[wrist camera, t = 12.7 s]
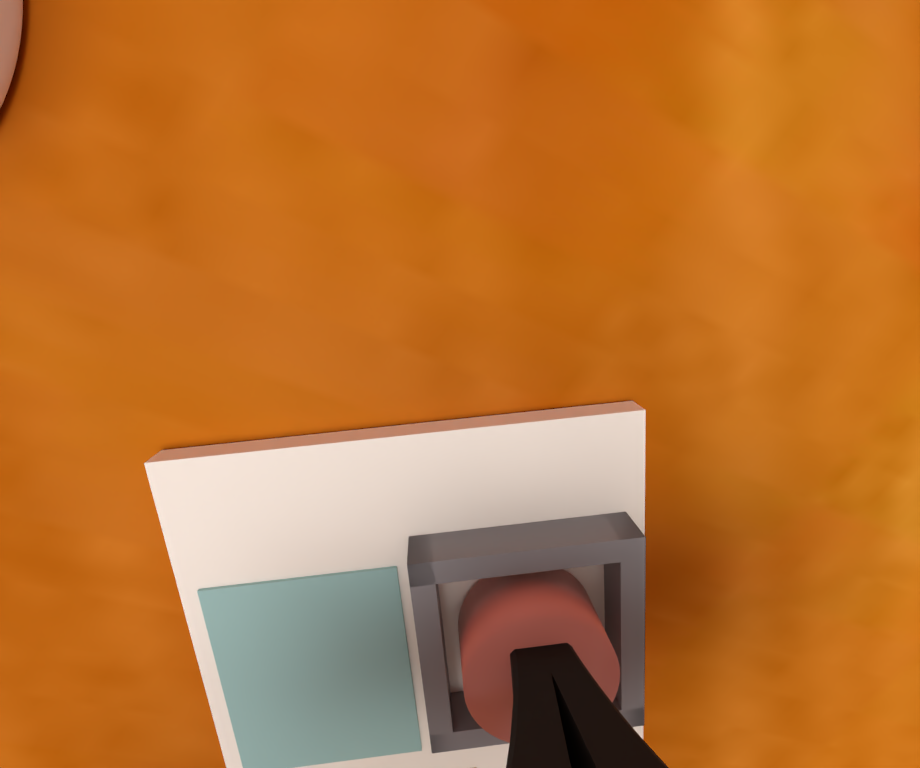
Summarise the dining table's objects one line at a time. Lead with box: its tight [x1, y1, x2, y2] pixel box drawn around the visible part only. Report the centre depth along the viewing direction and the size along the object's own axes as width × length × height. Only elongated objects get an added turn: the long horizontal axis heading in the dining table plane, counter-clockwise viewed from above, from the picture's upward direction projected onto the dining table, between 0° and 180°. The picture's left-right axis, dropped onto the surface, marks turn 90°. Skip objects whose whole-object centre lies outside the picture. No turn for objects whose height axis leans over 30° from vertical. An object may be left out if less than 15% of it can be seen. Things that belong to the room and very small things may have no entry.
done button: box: [458, 569, 620, 743], centre depth 12 cm, size 4×4×2 cm
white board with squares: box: [144, 401, 646, 768], centre depth 14 cm, size 20×12×2 cm, turn 5°
